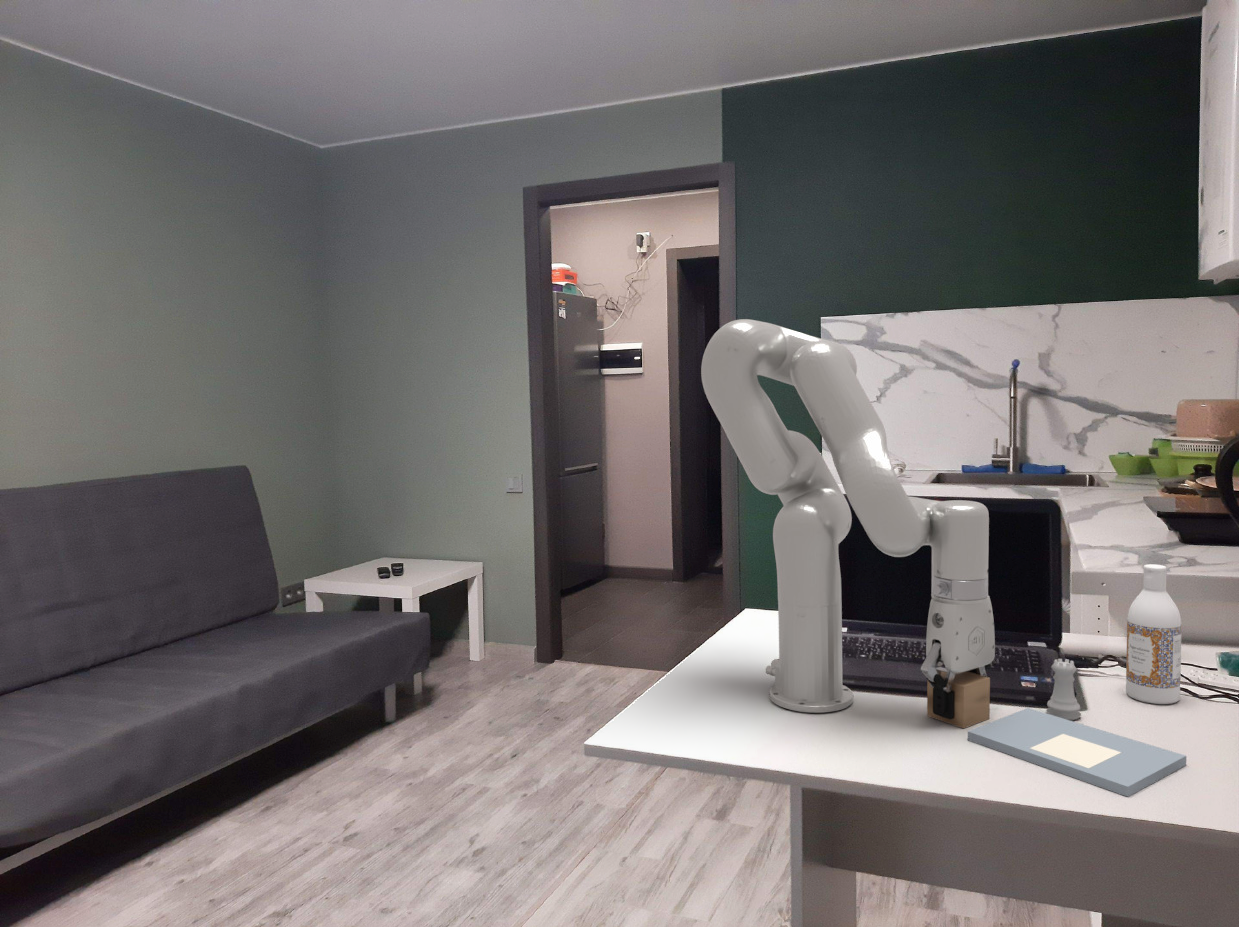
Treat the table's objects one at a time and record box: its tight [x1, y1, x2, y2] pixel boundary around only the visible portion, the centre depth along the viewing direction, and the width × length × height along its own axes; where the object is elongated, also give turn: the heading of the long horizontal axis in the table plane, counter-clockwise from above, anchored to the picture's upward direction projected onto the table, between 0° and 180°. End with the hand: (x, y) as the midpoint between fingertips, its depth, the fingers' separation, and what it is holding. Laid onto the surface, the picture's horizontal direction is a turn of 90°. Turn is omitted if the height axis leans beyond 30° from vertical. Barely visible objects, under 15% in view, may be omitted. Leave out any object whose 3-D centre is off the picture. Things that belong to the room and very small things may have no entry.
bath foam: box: [1125, 563, 1183, 705], centre depth 132 cm, size 7×7×20 cm
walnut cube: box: [926, 671, 991, 729], centre depth 127 cm, size 6×6×6 cm
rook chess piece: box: [1046, 658, 1082, 722], centre depth 127 cm, size 4×4×8 cm
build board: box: [967, 707, 1187, 798], centre depth 115 cm, size 21×14×1 cm, turn 34°
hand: (958, 709), depth 128 cm, fingers closed on walnut cube, 6 cm apart
